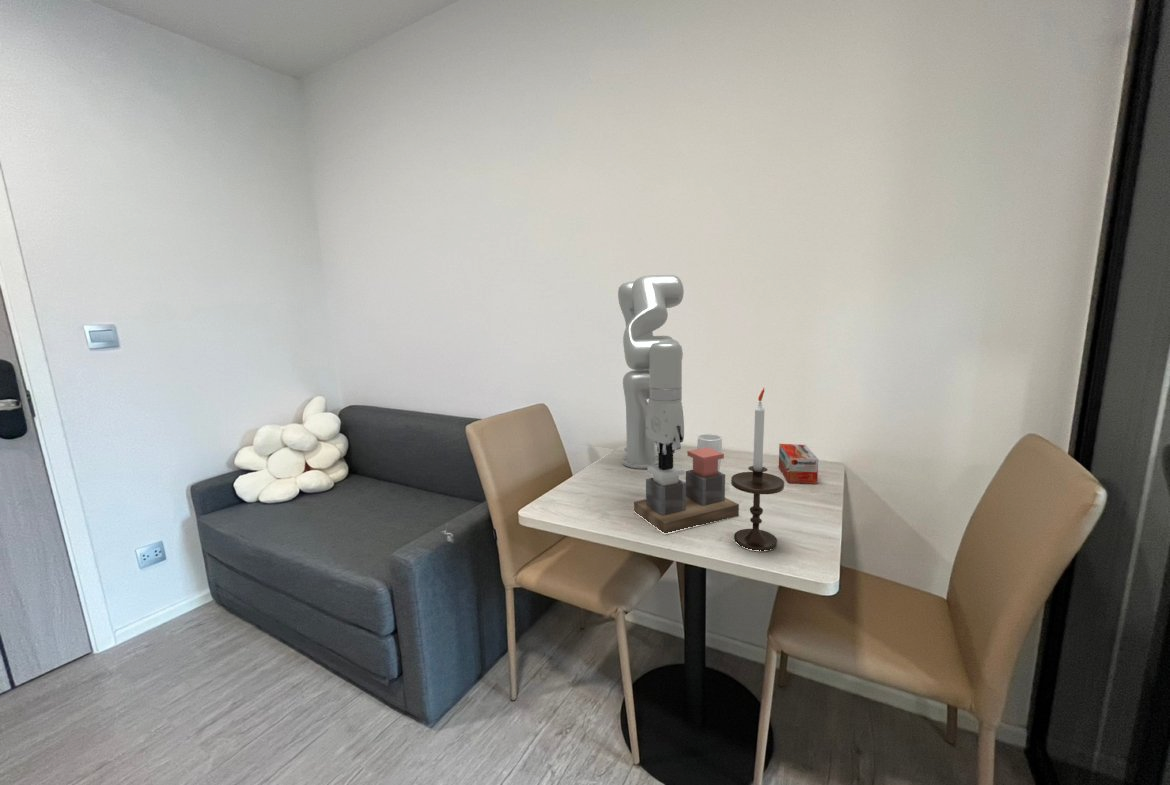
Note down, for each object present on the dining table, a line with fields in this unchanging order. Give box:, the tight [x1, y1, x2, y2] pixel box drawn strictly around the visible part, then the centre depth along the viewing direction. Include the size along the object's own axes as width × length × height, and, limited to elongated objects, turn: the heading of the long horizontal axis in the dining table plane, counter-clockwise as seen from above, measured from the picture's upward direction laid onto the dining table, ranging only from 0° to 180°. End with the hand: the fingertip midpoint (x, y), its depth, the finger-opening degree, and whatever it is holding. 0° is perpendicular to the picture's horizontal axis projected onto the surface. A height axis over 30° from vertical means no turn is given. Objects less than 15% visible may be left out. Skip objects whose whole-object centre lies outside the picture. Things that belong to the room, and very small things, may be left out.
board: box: [633, 469, 740, 533], centre depth 122 cm, size 14×22×10 cm, turn 115°
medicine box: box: [778, 443, 819, 485], centre depth 147 cm, size 15×8×8 cm, turn 170°
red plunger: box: [686, 447, 725, 477], centre depth 124 cm, size 6×6×8 cm
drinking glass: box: [696, 433, 723, 472], centre depth 140 cm, size 7×7×15 cm
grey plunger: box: [647, 463, 685, 486], centre depth 119 cm, size 6×6×8 cm
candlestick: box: [730, 387, 785, 551], centre depth 105 cm, size 11×11×35 cm
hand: (665, 468), depth 118 cm, fingers closed
